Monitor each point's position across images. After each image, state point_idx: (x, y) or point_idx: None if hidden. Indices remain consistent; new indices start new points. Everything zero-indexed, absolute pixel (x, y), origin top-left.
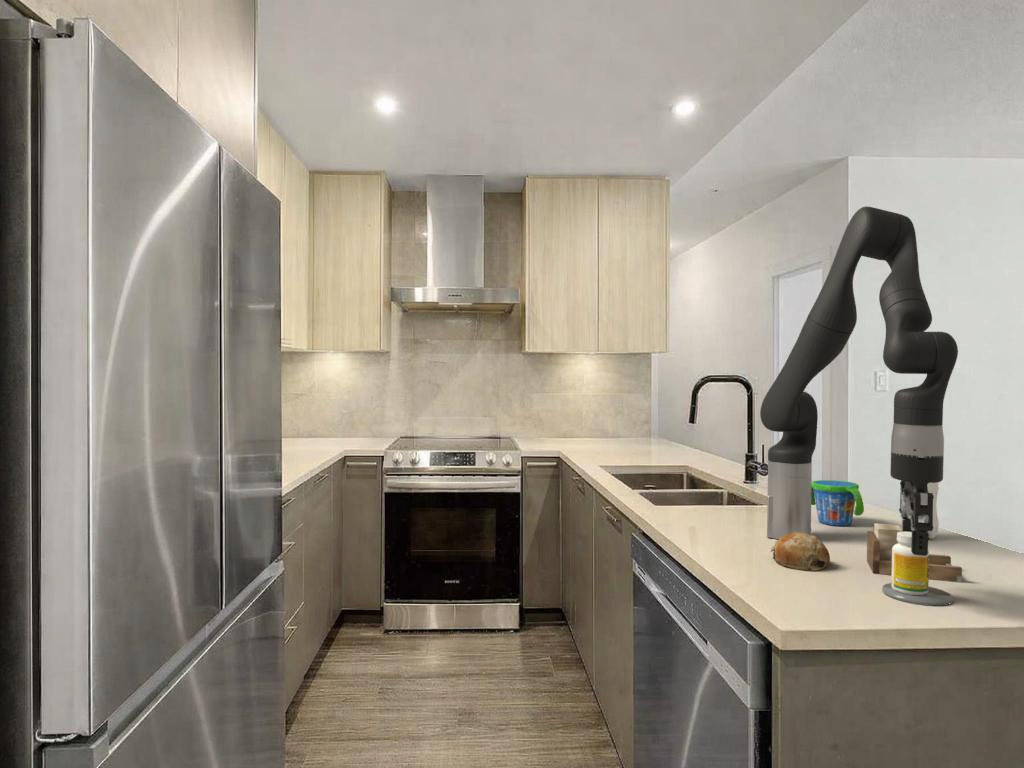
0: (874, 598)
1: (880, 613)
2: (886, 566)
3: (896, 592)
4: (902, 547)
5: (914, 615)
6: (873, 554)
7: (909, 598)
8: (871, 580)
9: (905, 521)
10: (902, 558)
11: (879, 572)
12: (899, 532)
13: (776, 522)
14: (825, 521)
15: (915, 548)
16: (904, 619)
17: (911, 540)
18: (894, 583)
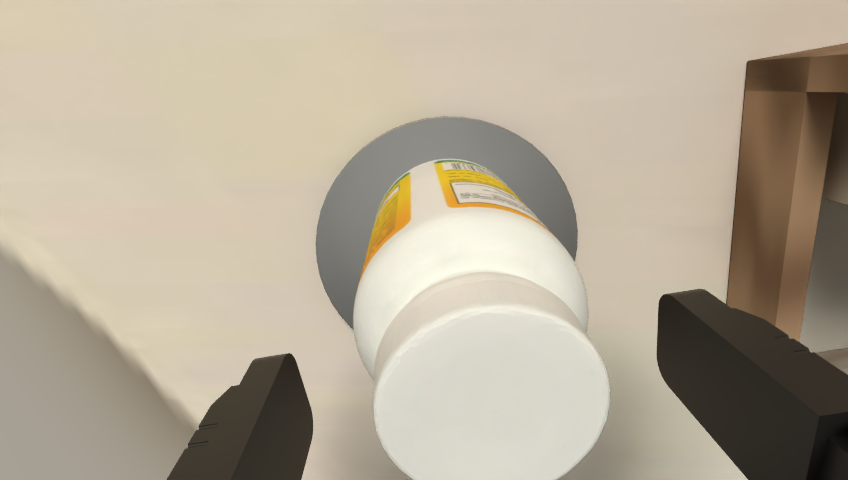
0: (296, 87)
1: (80, 122)
2: (775, 127)
3: (391, 179)
4: (393, 296)
5: (161, 243)
6: (844, 55)
7: (328, 229)
8: (609, 59)
9: (803, 428)
10: (365, 264)
11: (752, 91)
12: (526, 326)
13: None
14: None
15: (221, 404)
16: (76, 211)
17: (258, 416)
18: (403, 178)
